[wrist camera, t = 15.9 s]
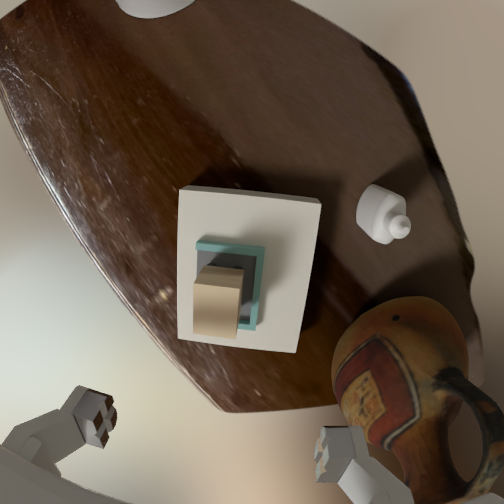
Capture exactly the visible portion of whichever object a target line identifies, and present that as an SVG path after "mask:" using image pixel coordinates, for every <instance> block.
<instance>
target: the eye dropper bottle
mask: <svg viewBox="0 0 504 504" xmlns="http://www.w3.org/2000/svg"><path fill="white" fill-rule="evenodd" d="M405 215H406V202H405V199H404V198H403V197H402V196H400V195H398V194H396V193H394V192H392V191H389V190H387V189H385V188H382V187H380V186H378V185H375V184H371V185H369V186H368V187H367V188H366V190H365V191H364V192H363V194H362V196H361V198H360V200H359V202H358V206H357V211H356V222H357V224H358V225H359V226H360V227H361V228H362V229H363V230H364V231H365V232H366V233H367V234H368V235H369V236H370V237H371V238H372V239H373V240H375V241H377V242H380V243H383V244H388V243H390V242H391V241H392V240H393V239H394V238H398V239H401V238H404V237H405V236H407V235H408V234H409V232H410V229H411V223H410V220H409V218H408V217H407V216H405Z"/></svg>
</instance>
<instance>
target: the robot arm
mask: <svg viewBox="0 0 504 504" xmlns="http://www.w3.org/2000/svg"><path fill="white" fill-rule="evenodd" d="M194 1H195V0H116V2H117V3H118V5H119V6H120V8H121V9H122V10H123V11H124V12H126V13H127V14H129V15H131V16H134V17H139V18H156V17H162V16H166V15H169V14H172V13H174V12H177V11H179V10H181V9H183V8H185V7H186V6H188V5H190V4H191V3H192V2H194ZM113 403H114V400H113V397H112V396H111V395H108V394H105V393H101V392H98V391H95V390H92V389H89V388H86V387H83V386H80V385H79V386H77V387H76V388H75V389H74V391H73V392H72V393H71V395H70V396H69V398H68V399H67V400H66V402H65V403H64V405H63V406H62V407H61V409H60V410H59V409H56V410H53V411H51V412H49V413H46V414H44V415H42V416H39V417H37V418H34V419H32V420H29V421H27V422H24V423H22V424H20V425H17V426H15V427H14V428H13V430H12V431H11V432H10V434H9V435H8V437H7V438H6V439H5V441H4V442H3V443H2V445H0V504H132V503H128V502H125V501H122V500H119V499H115V498H113V497H110V496H107V495H104V494H101V493H98V492H96V491H93V490H91V489H88V488H85V487H83V486H81V485H78V484H76V483H73V482H71V481H68V480H66V479H64V478H62V477H61V473H60V471H59V469H58V468H57V466H56V465H55V463H56V462H58V461H60V460H61V459H63V458H65V457H66V456H68V455H69V454H71V453H73V452H74V451H76V450H77V449H79V448H80V447H82V446H83V445H85V443H87V444H90V445H93V446H96V447H99V448H103V449H104V447H105V445H106V443H107V441H108V439H109V435H108V432H110V431H112V430H113V429H114V427H115V425H116V421H117V411H116V409H115V408H114V407H113V406H112V404H113ZM320 436H321V437H319V438H318V439H317V441H316V444H315V450H314V457H315V461H316V462H317V463H318V465H317V467H316V469H315V470H316V480H317V481H316V482H338V484H339V486H340V487H341V488H342V489H343V491H344V492H345V493H346V494H347V495H348V497H349V498H350V499H351V500H352V502H353V503H354V504H414V500H413V496H412V493H411V490H410V489H409V488H408V487H407V486H406V485H405V484H403V483H402V482H401V481H400V480H399V479H398V478H396V477H395V476H394V475H393V474H392V473H391V472H389V471H388V470H387V469H386V468H385V467H384V466H383V465H382V464H380V463H379V462H378V461H377V460H376V459H375V458H374V457H369V452H368V448H367V444H366V440H365V436H364V432H363V428H362V427H361V426H323V427H322V428H321V431H320ZM457 504H504V499H503V498H501V497H500V496H498V495H496V494H494V493H487V494H483V495H481V496H478V497H475V498H472V499H469V500H466V501H463V502H460V503H457Z"/></svg>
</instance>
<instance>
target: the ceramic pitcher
mask: <svg viewBox="0 0 504 504" xmlns="http://www.w3.org/2000/svg"><path fill="white" fill-rule="evenodd" d="M468 369H469V358H468V350H467V345H466V342H465V339H464V336H463V334H462V331H461V329H460V327H459V325H458V323H457V321H456V320H455V318H454V317H453V315H452V314H451V313H450V312H449V311H448V310H447V309H446V308H445V307H444V306H443V305H442V304H441V303H439V302H437V301H435V300H434V299H431V298H429V297H424V296H414V297H401V298H395V299H392V300H390V301H387V302H384V303H382V304H380V305H378V306H376V307H374V308H372V309H370V310H369V311H367V312H365V313H363V314H361V315H360V316H359V317H358V318H357V319H356V320H355V321H354V322H353V323H352V324H351V325H350V326H349V327H348V328H347V329H346V331H345V332H344V334H343V335H342V337H341V338H340V340H339V342H338V344H337V346H336V349H335V352H334V356H333V361H332V384H333V391H334V394H335V397H336V399H337V402H338V404H339V407H340V409H341V411H342V413H343V415H344V416H345V418H346V420H347V421H348V423H349V424H350V425H351V426H361V427H362V428H363V432H364V436H365V440H366V441H367V442H369V443H370V444H372V445H374V446H376V447H378V448H380V449H384V450H388V451H392V452H393V453H394V454H395V455H396V457H397V459H398V460H399V462H400V464H401V466H402V468H403V471H404V482H405V485H406V486H407V487H408V488H409V489H410V490H411V493H412V496H413V500H414V504H457V503H460V502H463V501H466V500H469V499H472V498H475V497H478V496H481V495H483V494H487V493H489V490H490V488H491V485H492V484H493V483H494V481H495V480H496V478H497V477H498V475H499V474H500V472H501V470H502V468H503V466H504V415H503V413H502V411H501V409H500V408H499V407H498V405H497V403H496V402H494V401H493V400H492V399H491V398H490V397H489V396H487V395H486V394H485V393H484V392H482V391H481V390H480V389H479V388H477V387H476V386H475V385H473V384H472V383H471V382H470V381H468ZM463 401H465V402H466V403H467V404H468V405H469V406H470V408H471V409H472V411H473V413H474V415H475V417H476V419H477V421H478V423H479V426H480V429H481V433H482V440H483V457H482V460H481V464H480V467H479V469H478V471H477V473H476V475H475V476H474V478H473V479H472V480H471V481H469V482H468V483H467V482H465V481H464V480H463V479H462V478H461V477H460V476H459V474H458V472H457V471H456V469H455V467H454V464H453V461H452V458H451V455H450V450H449V445H448V428H449V426H450V425H451V424H452V422H453V421H454V419H455V418H456V416H457V415H458V413H459V411H460V409H461V406H462V404H463Z"/></svg>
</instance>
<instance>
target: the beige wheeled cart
mask: <svg viewBox="0 0 504 504" xmlns="http://www.w3.org/2000/svg"><path fill="white" fill-rule="evenodd" d="M243 278H244V270H243V268H242V267H240V266H234V267H233V268H225V267H218V266H217V265H216V264H215V263H209V264H207V265H204V266H203V267H202V269H201V271H200V273H199V274H198V276H197V278H196V280H195V282H194V285H193V333H194V334H200V335H207V336H215V337H222V338H230V339H236V334H237V329H238V324H239V318H240V311H241V300H242V289H243Z"/></svg>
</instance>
